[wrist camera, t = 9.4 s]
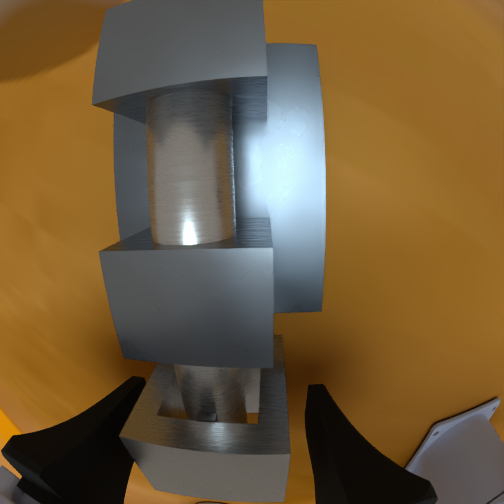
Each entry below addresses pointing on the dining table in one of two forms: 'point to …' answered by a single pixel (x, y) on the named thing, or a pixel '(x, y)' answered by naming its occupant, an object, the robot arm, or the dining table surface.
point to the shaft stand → (210, 190)
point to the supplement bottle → (209, 503)
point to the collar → (214, 439)
